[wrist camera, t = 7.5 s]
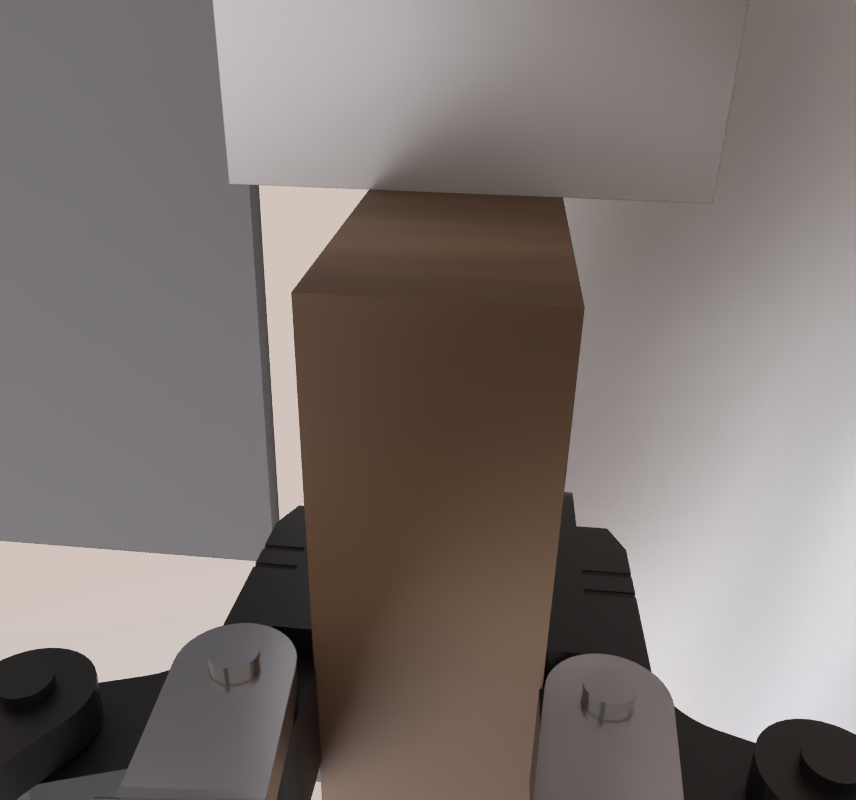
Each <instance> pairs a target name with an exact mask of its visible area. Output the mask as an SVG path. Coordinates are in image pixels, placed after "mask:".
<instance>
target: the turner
mask: <svg viewBox="0 0 856 800" xmlns="http://www.w3.org/2000/svg"><path fill="white" fill-rule="evenodd" d="M747 5H748V0H213V9H214V20H215V31H216V42H217V53H218V64H219V75H220V86H221V97H222V108H223V119H224V130H225V141H226V152H227V163H228V174H229V184H249V185H273V186H297V187H298V186H299V187H322V188H347V189H369V191H368V192H367V193H366V195H365V196H364V197H363V199H362V200H361V201H360V203H359V204H358V205H357V207H356V208H355V209H354V211H353V212H352V213H351V215H350V216H349V217H348V219H347V220H346V221H345V222H344V224H343V225H342V226H341V228H340V229H339V230H338V232H337V233H336V234H335V236H334V237H333V239H332V240H331V241H330V242H329V244H328V245H327V246H326V248H325V249H324V250H323V251H322V253H321V254H320V255H319V257H318V258H317V259H316V261H315V262H314V263H313V265H312V266H311V267H310V269H309V270H308V272H307V273H306V274H305V275H304V277H303V278H302V279H301V281H300V282H299V283H298V285H297V286H296V287H295V288H294V290H293V291H292V309H293V324H294V325H293V326H294V342H295V358H296V375H297V392H298V408H299V425H300V440H301V458H302V474H303V491H304V507H305V524H306V540H307V557H308V573H309V590H310V606H311V623H312V639H313V656H314V669H316V681H317V697H318V713H319V729H320V745H321V764H320V771H321V788H322V800H530V787H529V781H530V771H531V762H532V752H533V743H534V733H535V724H536V715H537V705H538V696H539V689H542V686H543V677H544V668H545V659H546V650H547V641H548V632H549V623H550V614H551V605H552V596H553V587H554V578H555V569H556V560H557V551H558V542H559V533H560V524H561V515H562V506H563V497H564V488H565V479H566V470H567V461H568V452H569V443H570V434H571V425H572V416H573V407H574V398H575V389H576V380H577V371H578V362H579V353H580V344H581V335H582V326H583V317H584V303H583V297H582V292H581V287H580V282H579V277H578V272H577V267H576V262H575V257H574V252H573V247H572V242H571V237H570V232H569V227H568V222H567V217H566V212H565V206H564V201H563V197H565V198H590V199H614V200H639V201H663V202H687V203H712V204H713V199H714V193H715V188H716V182H717V176H718V171H719V165H720V159H721V154H722V148H723V142H724V137H725V131H726V125H727V119H728V114H729V108H730V102H731V97H732V91H733V85H734V80H735V74H736V68H737V62H738V57H739V51H740V45H741V40H742V34H743V28H744V23H745V17H746V11H747Z"/></svg>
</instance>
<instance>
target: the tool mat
mask: <svg viewBox="0 0 856 800" xmlns="http://www.w3.org/2000/svg"><path fill="white" fill-rule="evenodd" d="M278 521H279V509H278V492H277V475H276V460H275V443H274V427H273V411H272V394H271V378H270V362H269V345H268V330H267V314H266V298H265V280H264V265H263V248H262V232H261V215H260V199H259V185H249V184H229V174H228V163H227V152H226V141H225V130H224V119H223V108H222V97H221V86H220V75H219V64H218V53H217V42H216V31H215V20H214V9H213V0H0V541H10V542H23V543H36V544H48V545H61V546H74V547H86V548H98V549H112V550H124V551H137V552H149V553H161V554H174V555H187V556H199V557H212V558H224V559H238V560H250V561H257V559H258V557H259V555H260V553H261V551H262V549H265V544H266V542H267V540H268V538H269V536H270V534H271V532H272V530H273V528H274V526H275V524H276V523H277V522H278Z"/></svg>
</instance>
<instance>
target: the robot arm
mask: <svg viewBox="0 0 856 800" xmlns="http://www.w3.org/2000/svg"><path fill="white" fill-rule="evenodd" d="M320 764H321V745H320V729H319V713H318V697H317V681H316V669H314V656H313V639H312V623H311V606H310V590H309V573H308V557H307V540H306V524H305V507H304V506H298V507H297V508H296V509H294V510H293V511H292V512H290V513H289V514H287V515H286V516H285V517H284V518H282V519H281V520H280V521H278V522H277V523H276V524H275V526H274V528H273V530H272V532H271V534H270V536H269V538H268V540H267V542H266V544H265V549H262V551H261V553H260V555H259V557H258V559H257V561H256V566H255V567H253V569H252V571H251V573H250V575H249V577H248V579H247V580H246V582H245V585H244V586H243V588H242V590H241V592H240V594H239V596H238V598H237V600H236V602H235V604H234V606H233V608H232V609H231V611H230V614H229V615H228V617H227V619H226V621H225V623H224V625H223V626H221V627H217V628H214V629H212V630H209V631H207V632H205V633H203V634H201V635H199V636H197V637H196V638H194V639H193V640H191V641H190V642H189V643H187V644H186V645H185V646H184V647H183V648H182V650H181V651H180V652H179V653H178V654H177V656H176V658H175V660H174V662H173V664H172V666H171V669H170V670H169V671H165V672H162V673H159V674H154V675H148V676H143V677H136V678H129V679H123V680H115V681H109V682H102V683H98V679H97V673H96V670H95V667H94V665H93V664H92V662H91V661H90V660H89V659H88V658H87V657H85V656H84V655H82V654H80V653H78V652H76V651H72V650H69V649H62V648H45V649H36V650H31V651H26V652H23V653H20V654H16V655H13V656H11V657H8V658H6V659H3V660H1V661H0V800H311V796H312V793H313V789H314V785H315V782H316V781H318V782H321V771H320ZM529 787H530V800H856V735H855V734H853V733H851V732H849V731H847V730H845V729H842V728H840V727H837V726H835V725H831V724H828V723H824V722H821V721H815V720H809V719H791V720H784V721H780V722H777V723H774V724H772V725H770V726H768V727H767V728H766V729H765V730H764V731H762V733H761V734H760V736H759V737H758V739H757V742H756V743H753V742H750V741H747V740H744V739H741V738H738V737H736V736H733V735H730V734H727V733H724V732H721V731H718V730H715V729H713V728H710V727H708V726H705V725H703V724H701V723H699V722H697V721H695V720H693V719H692V718H690V717H688V716H687V715H685V714H684V713H682V712H681V711H680V710H678V709H677V708H676V707H675V706H674V704H673V699H672V697H671V695H670V693H669V691H668V689H667V688H666V686H665V685H664V684H663V683H662V682H661V681H660V679H659V678H658V677H657V676H655V675H654V674H653V673H652V672H651V668H650V663H649V658H648V654H647V649H646V644H645V639H644V634H643V630H642V625H641V620H640V615H639V610H638V606H637V601H636V598H635V591H634V587H633V582H632V578H631V572H630V567H629V563H628V558H627V553H626V550H625V549H624V547H623V546H622V545H621V544H620V543H619V542H618V541H617V539H616V538H615V537H614V536H613V535H612V534H611V533H610V532H609V530H608V529H604V528H591V527H577V526H576V520H575V512H574V503H573V495H572V493H569V492H564V497H563V506H562V515H561V524H560V533H559V542H558V551H557V560H556V569H555V578H554V587H553V596H552V605H551V614H550V623H549V632H548V641H547V650H546V659H545V668H544V677H543V686H542V689H539V696H538V705H537V715H536V724H535V733H534V743H533V752H532V762H531V771H530V781H529Z"/></svg>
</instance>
